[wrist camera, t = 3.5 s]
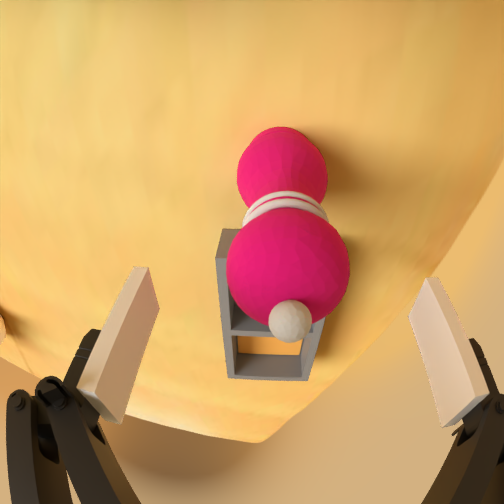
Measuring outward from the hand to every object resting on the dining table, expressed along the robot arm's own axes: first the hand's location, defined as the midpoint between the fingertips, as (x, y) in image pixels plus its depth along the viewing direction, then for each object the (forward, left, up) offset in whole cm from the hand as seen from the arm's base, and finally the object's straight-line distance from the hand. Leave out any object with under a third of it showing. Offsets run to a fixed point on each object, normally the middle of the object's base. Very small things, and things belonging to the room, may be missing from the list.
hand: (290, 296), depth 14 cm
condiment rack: (0, -19, -17) cm, 25 cm away
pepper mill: (0, 0, -18) cm, 18 cm away
